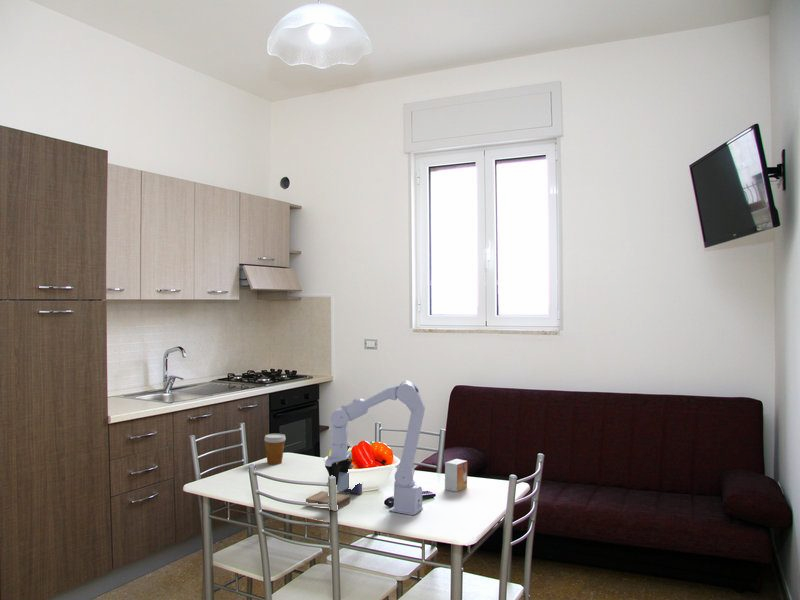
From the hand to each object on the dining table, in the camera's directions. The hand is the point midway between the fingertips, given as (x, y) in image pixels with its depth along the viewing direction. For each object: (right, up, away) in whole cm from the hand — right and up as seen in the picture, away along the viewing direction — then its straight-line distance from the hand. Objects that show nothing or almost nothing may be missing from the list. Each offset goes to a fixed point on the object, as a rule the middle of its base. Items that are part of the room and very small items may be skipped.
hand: (338, 482), depth 215 cm
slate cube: (0, -2, 0) cm, 2 cm away
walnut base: (-4, -9, +2) cm, 10 cm away
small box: (+43, -10, +24) cm, 50 cm away
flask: (+3, -9, +17) cm, 19 cm away
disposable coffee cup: (-34, -9, +57) cm, 67 cm away
